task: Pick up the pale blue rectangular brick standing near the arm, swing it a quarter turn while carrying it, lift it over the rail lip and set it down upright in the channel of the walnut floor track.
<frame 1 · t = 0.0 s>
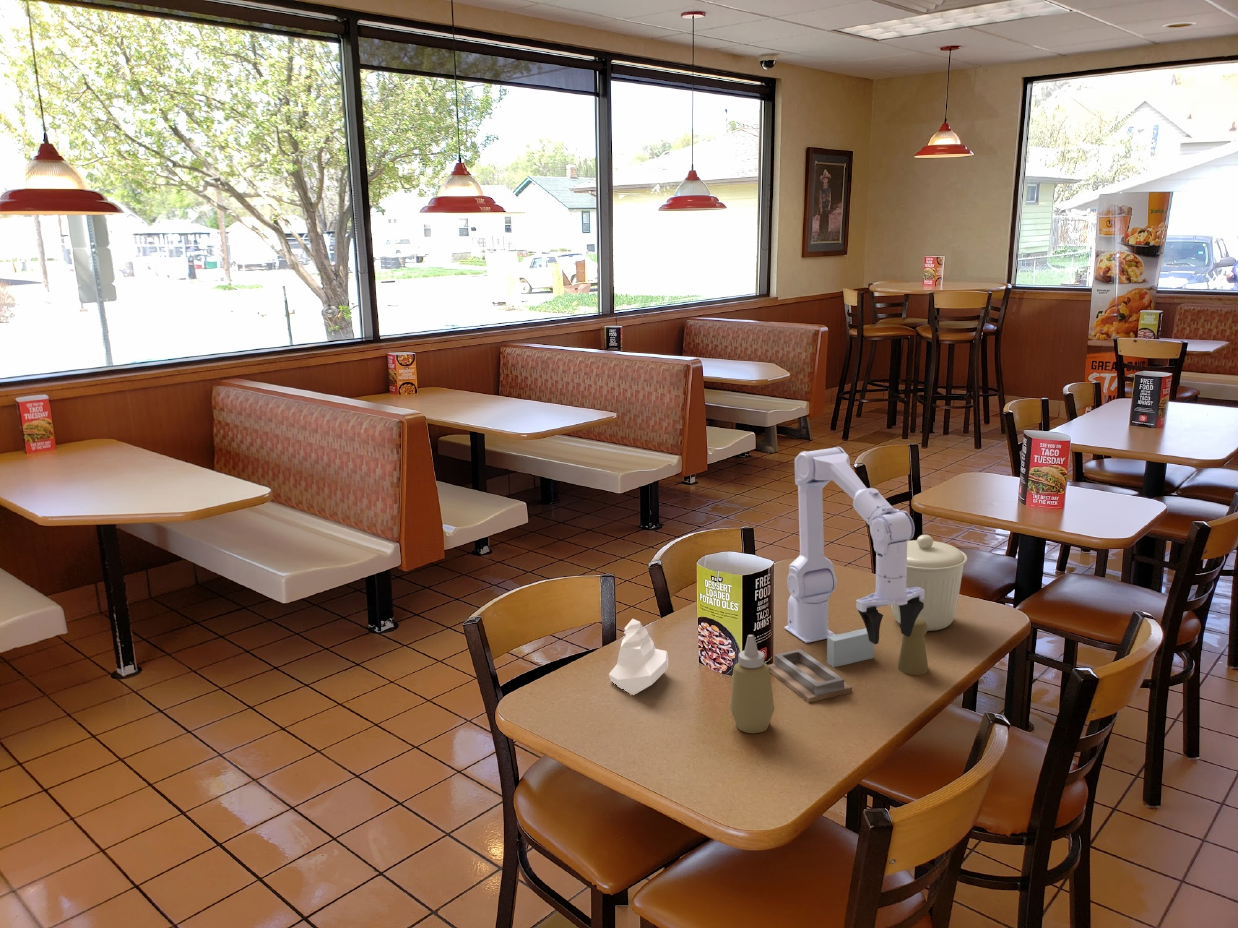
hand: (889, 638, 180), 10 cm above the table, tool pointing down, fingers open, 7 cm apart
track: (808, 680, 186), on the table
soft serve ice cream: (639, 682, 189), on the table
pale blue rectangular brick: (850, 660, 194), on the table
squeeze bottle: (752, 726, 169), on the table
cork: (912, 669, 189), on the table
canister: (922, 623, 211), on the table
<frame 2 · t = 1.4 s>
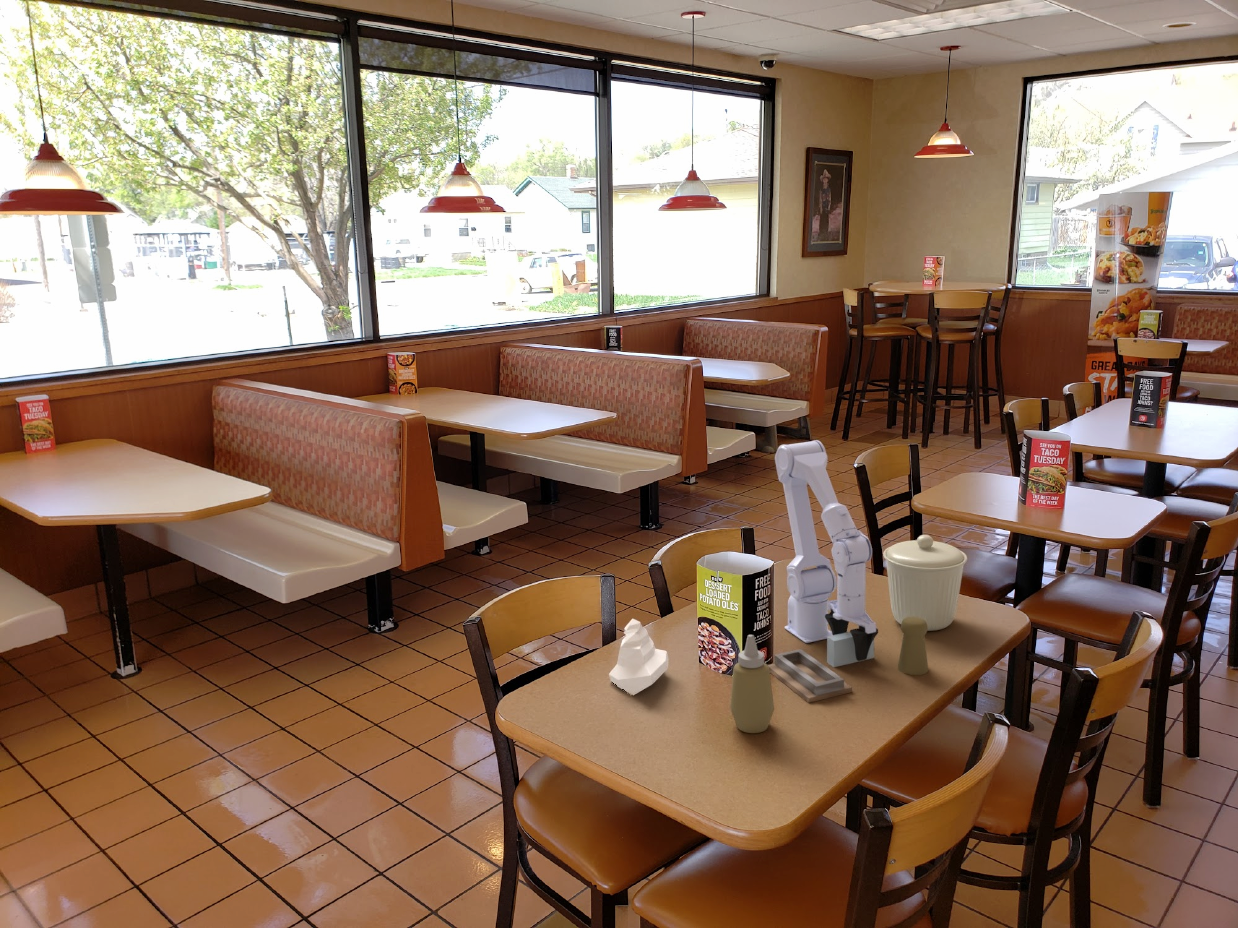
hand: (850, 652, 194), 2 cm above the table, tool pointing down, fingers open, 7 cm apart
nothing on the table moved.
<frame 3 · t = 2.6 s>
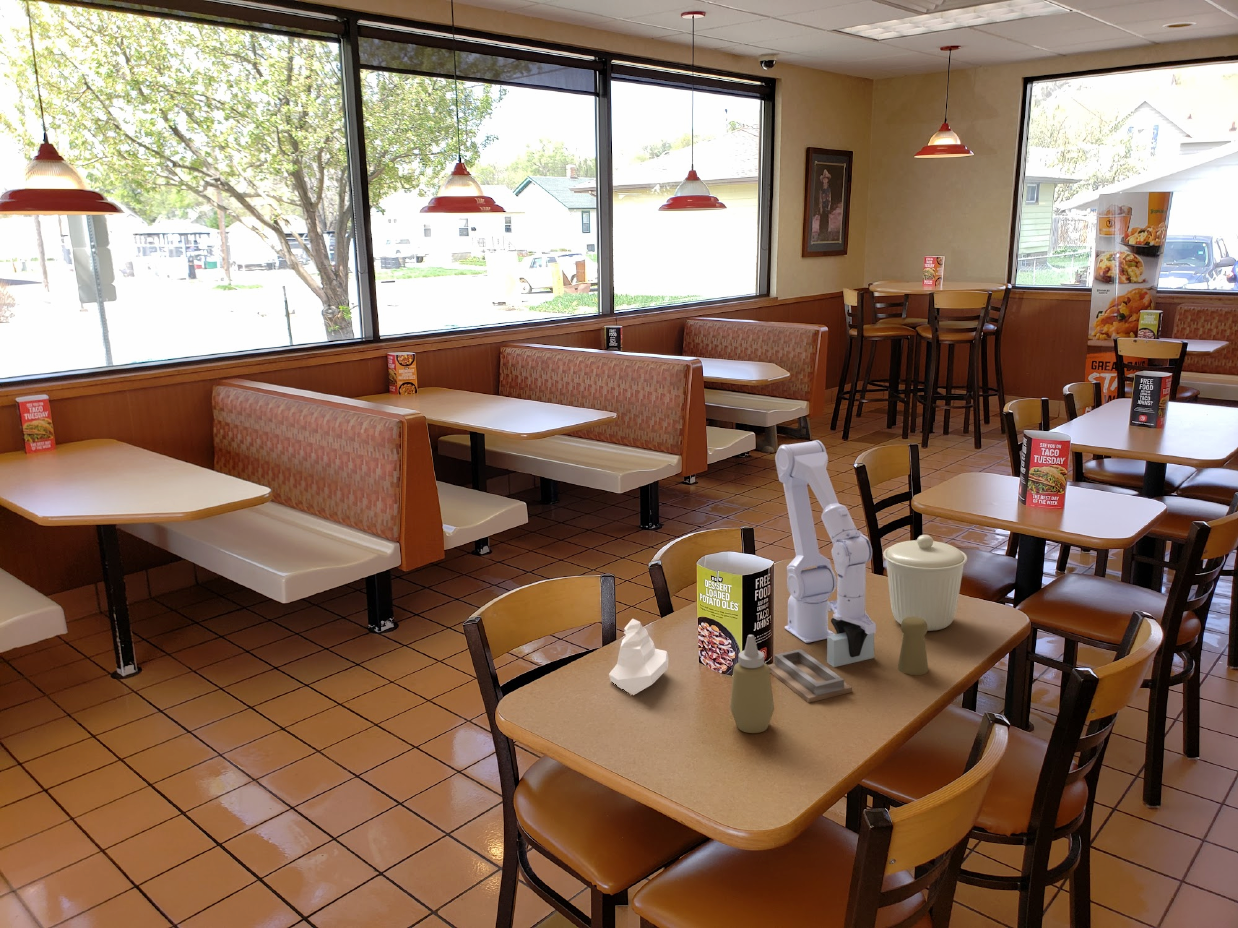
hand: (850, 652, 194), 2 cm above the table, tool pointing down, fingers closed on pale blue rectangular brick, 2 cm apart
pale blue rectangular brick: (850, 660, 194), on the table, touching gripper
everything else where it was.
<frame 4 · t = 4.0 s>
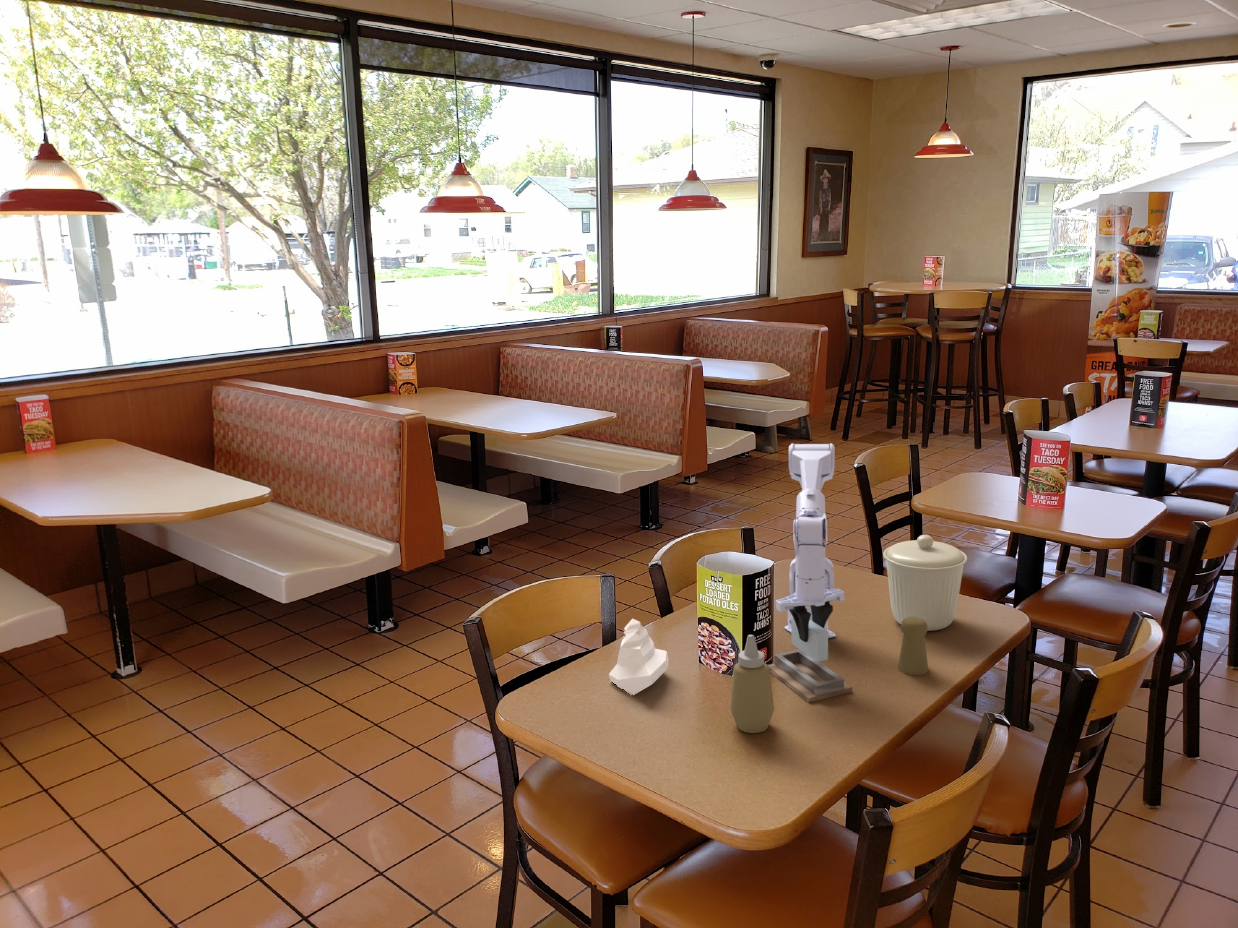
hand: (810, 638, 184), 9 cm above the table, tool pointing down, fingers closed on pale blue rectangular brick, 2 cm apart
pale blue rectangular brick: (809, 651, 185), point 6 cm above the table, touching gripper
everything else where it was.
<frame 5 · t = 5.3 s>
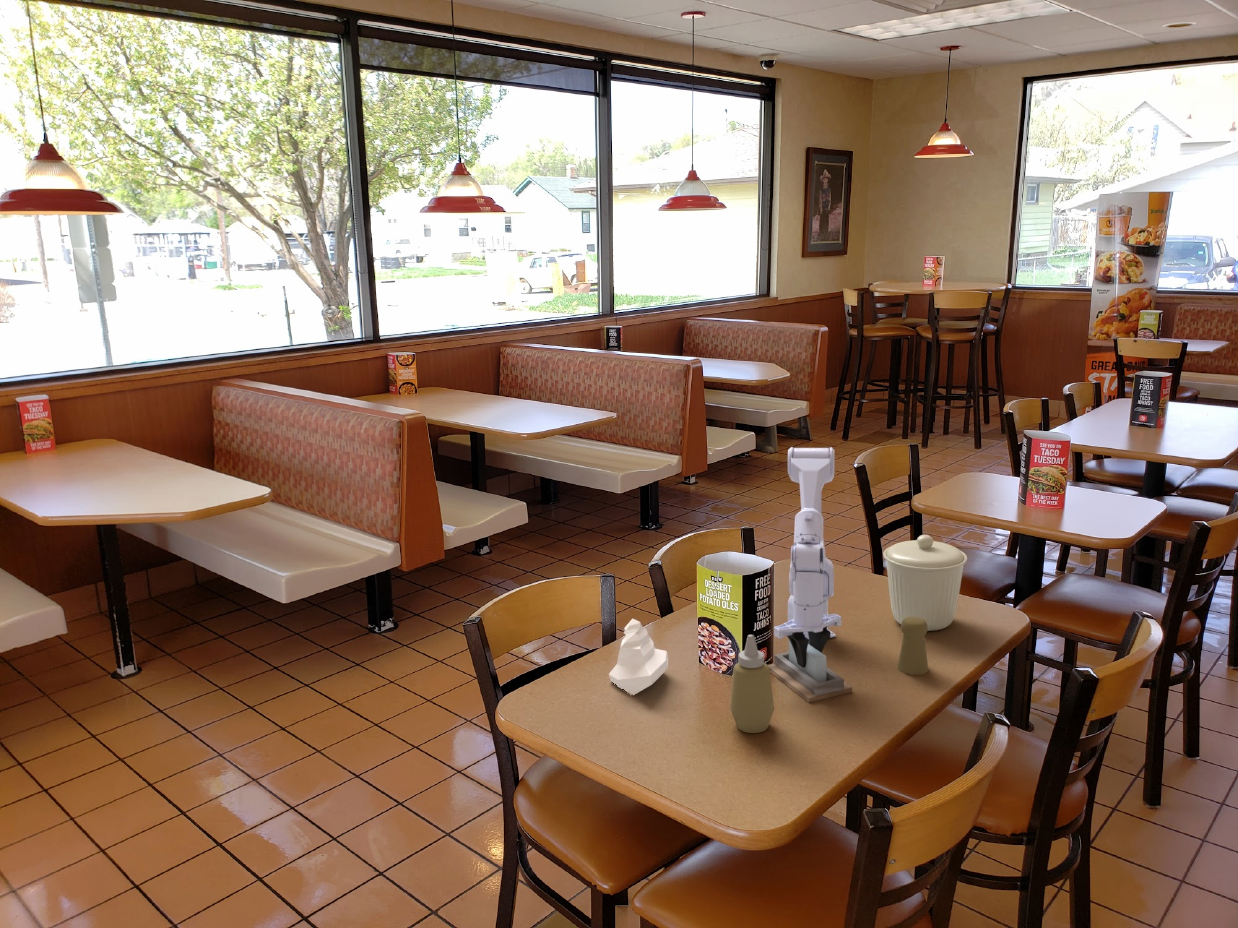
hand: (808, 663, 185), 4 cm above the table, tool pointing down, fingers closed on pale blue rectangular brick, 2 cm apart
pale blue rectangular brick: (807, 675, 186), point 1 cm above the table, touching gripper, track
everything else where it was.
when the fingers open (4 cm above the table, at t = 5.7 s): pale blue rectangular brick stays where it is, resting on track.
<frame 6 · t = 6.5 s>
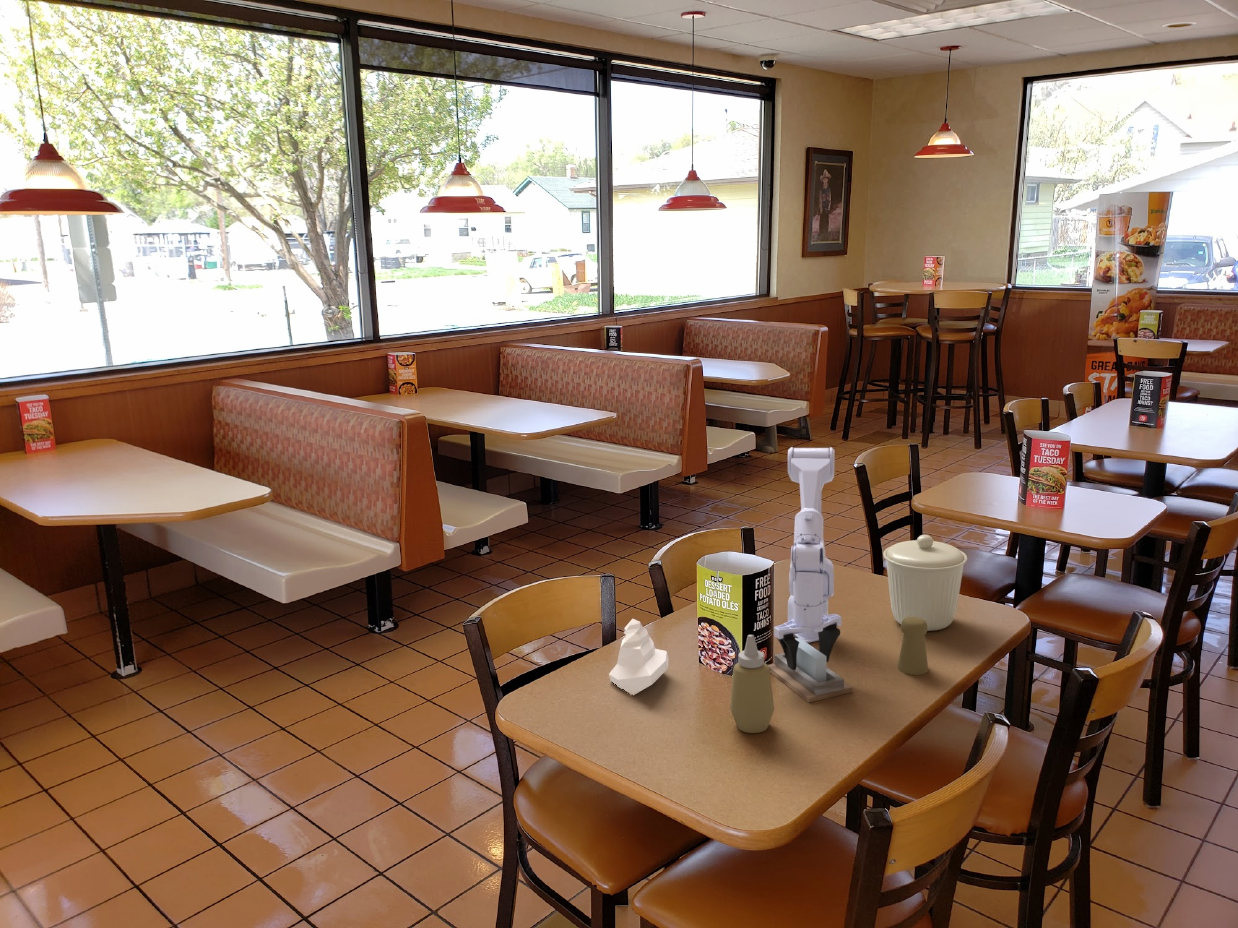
hand: (808, 663, 185), 4 cm above the table, tool pointing down, fingers open, 7 cm apart
pale blue rectangular brick: (807, 675, 186), point 1 cm above the table, touching track
everything else where it was.
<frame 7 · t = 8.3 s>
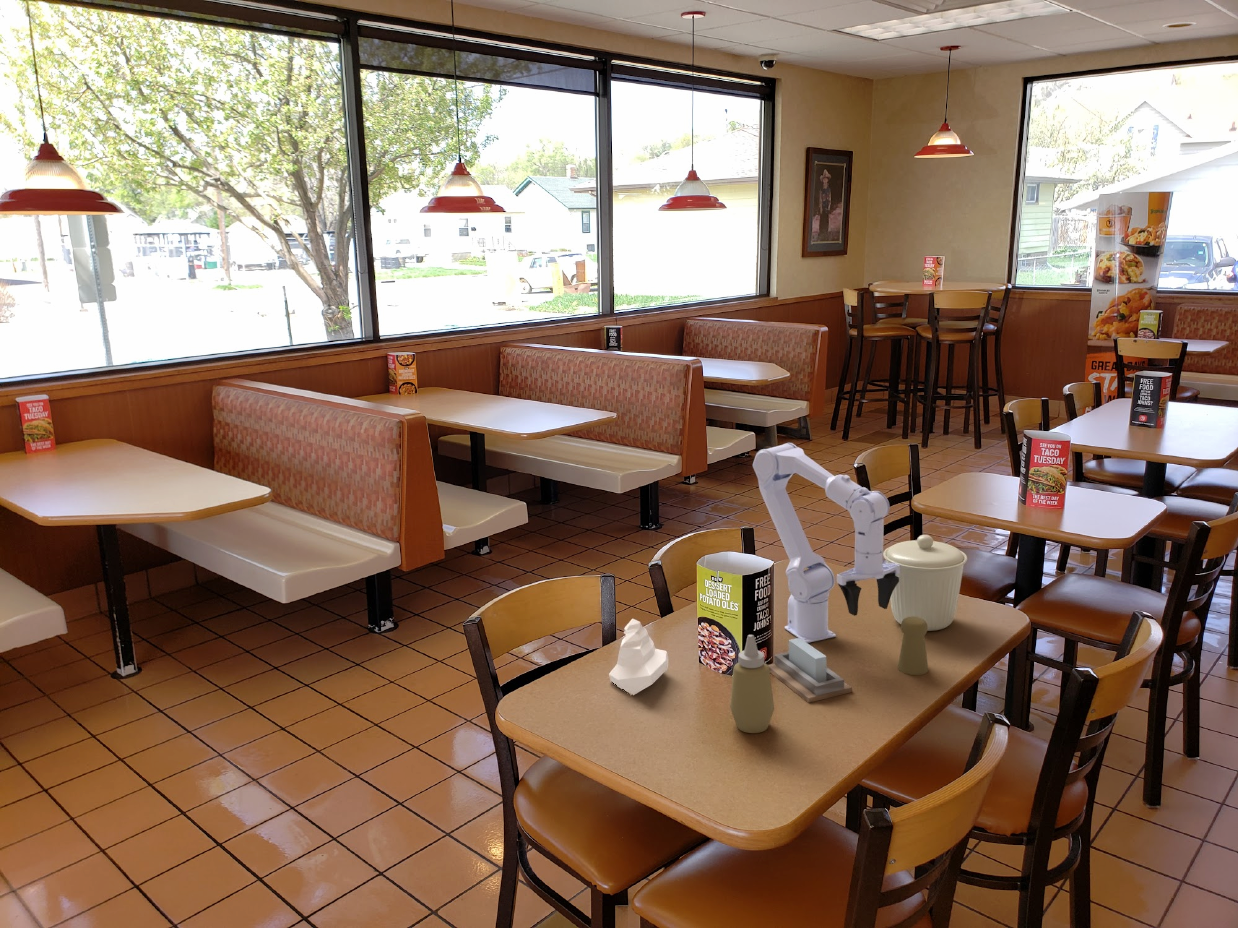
hand: (868, 610, 194), 10 cm above the table, tool pointing down, fingers open, 7 cm apart
nothing on the table moved.
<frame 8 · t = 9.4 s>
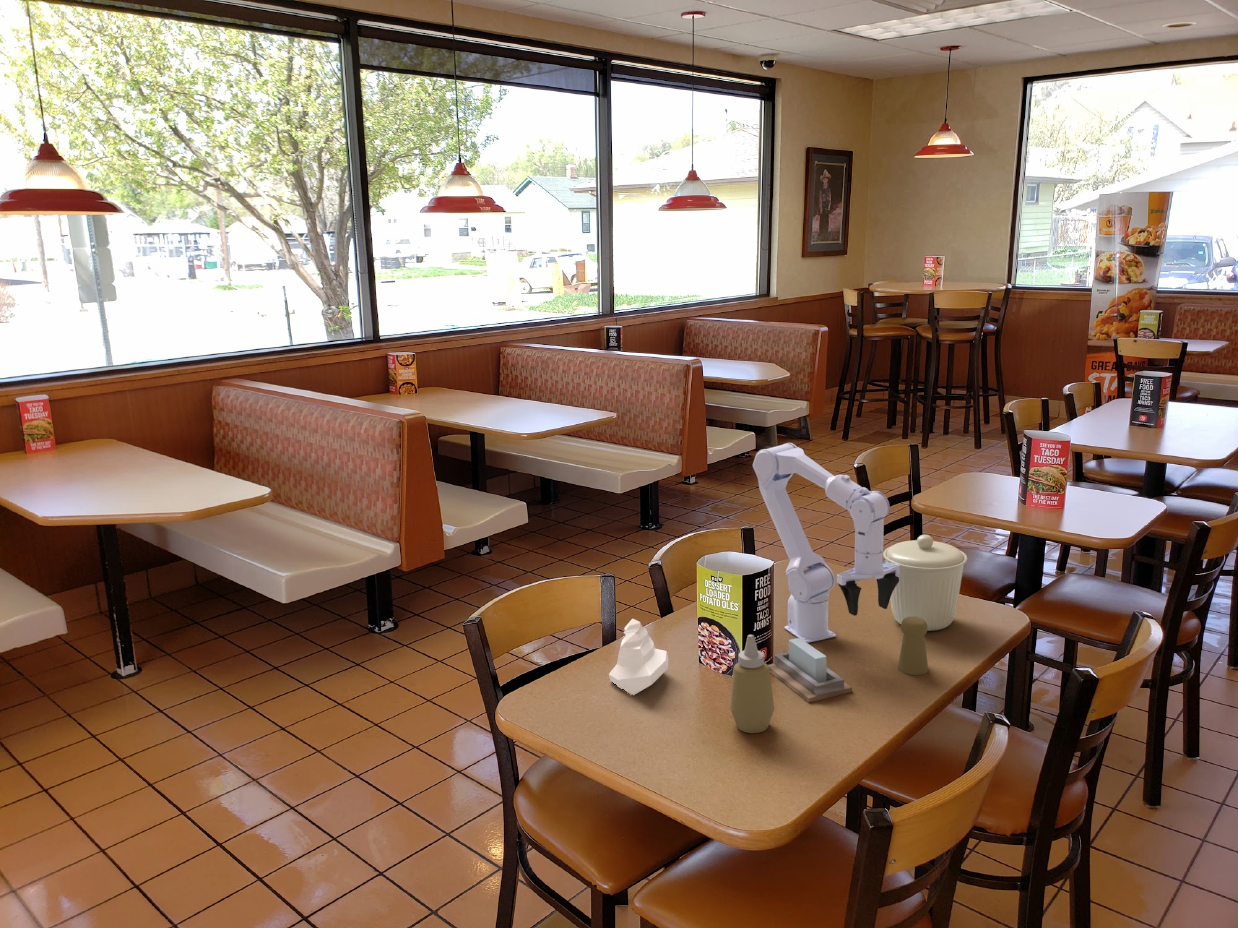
hand: (868, 610, 194), 10 cm above the table, tool pointing down, fingers open, 7 cm apart
nothing on the table moved.
at the end: pale blue rectangular brick inside the target area on the track (0.3 cm from its centre), point 1.0 cm above the track's base; pale blue rectangular brick tilted 0°; the gripper is holding nothing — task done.
